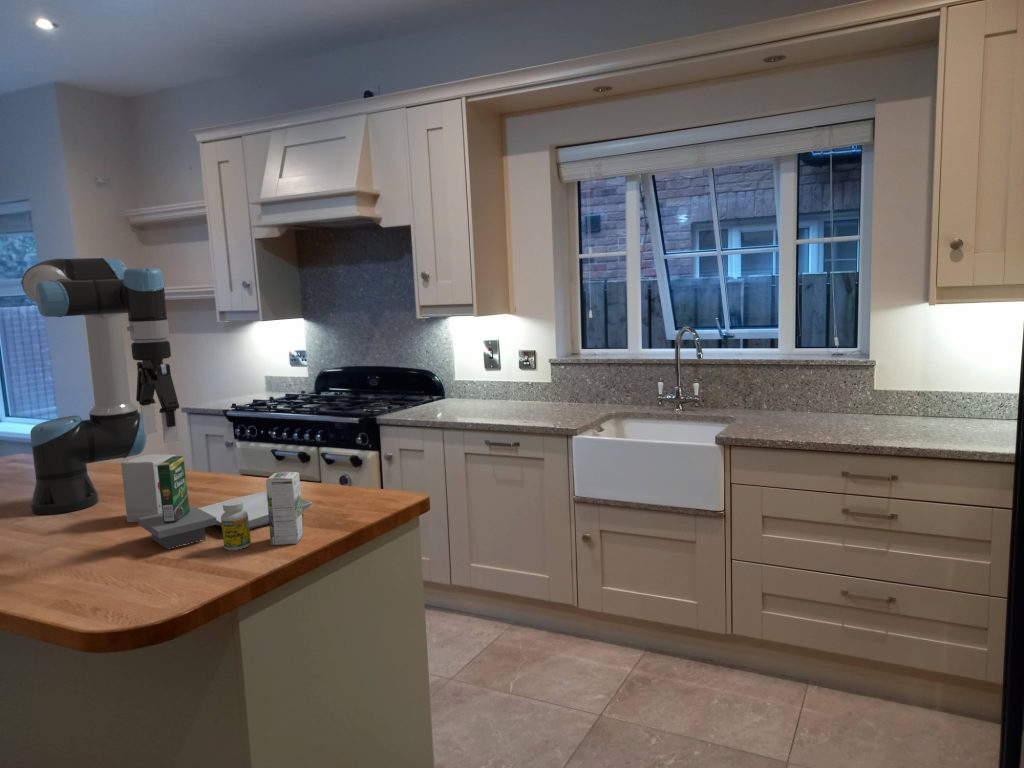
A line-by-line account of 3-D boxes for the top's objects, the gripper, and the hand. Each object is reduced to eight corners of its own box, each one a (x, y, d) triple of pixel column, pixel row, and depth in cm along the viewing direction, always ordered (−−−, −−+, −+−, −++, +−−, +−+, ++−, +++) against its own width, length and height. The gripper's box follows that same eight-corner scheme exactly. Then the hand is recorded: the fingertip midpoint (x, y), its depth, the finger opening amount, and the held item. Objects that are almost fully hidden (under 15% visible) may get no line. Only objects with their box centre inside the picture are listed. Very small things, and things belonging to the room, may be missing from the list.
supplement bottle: (252, 541, 159) (248, 498, 158) (249, 549, 154) (245, 504, 153) (226, 544, 158) (221, 500, 157) (222, 552, 153) (217, 507, 151)
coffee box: (176, 523, 157) (169, 463, 156) (162, 524, 157) (155, 464, 156) (190, 512, 165) (184, 455, 164) (178, 513, 165) (171, 456, 164)
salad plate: (189, 522, 176) (188, 508, 175) (270, 501, 191) (269, 488, 191) (231, 540, 162) (230, 525, 161) (315, 515, 177) (314, 501, 177)
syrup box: (277, 537, 161) (271, 472, 159) (304, 535, 161) (299, 470, 159) (270, 546, 155) (264, 479, 153) (298, 544, 156) (292, 477, 154)
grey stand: (140, 540, 163) (137, 518, 163) (195, 526, 171) (193, 505, 171) (160, 554, 153) (158, 531, 152) (218, 539, 161) (216, 517, 160)
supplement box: (159, 523, 175) (152, 462, 173) (126, 523, 177) (119, 462, 175) (183, 512, 184) (177, 453, 182) (151, 511, 186) (145, 453, 184)
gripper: (114, 340, 164) (124, 433, 167) (150, 344, 146) (161, 448, 149) (150, 337, 169) (159, 427, 172) (189, 341, 151) (199, 442, 154)
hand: (160, 437), depth 161 cm, fingers open, 13 cm apart
